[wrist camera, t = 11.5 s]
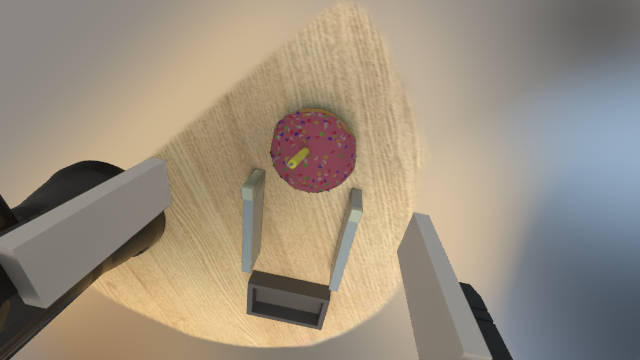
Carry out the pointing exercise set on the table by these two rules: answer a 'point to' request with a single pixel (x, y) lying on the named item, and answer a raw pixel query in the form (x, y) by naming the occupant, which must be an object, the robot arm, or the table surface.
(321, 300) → the bin
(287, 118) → the cupcake
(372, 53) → the table surface
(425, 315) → the robot arm
